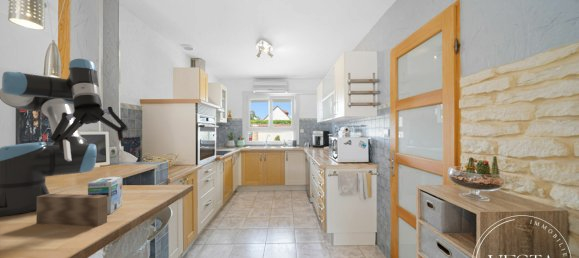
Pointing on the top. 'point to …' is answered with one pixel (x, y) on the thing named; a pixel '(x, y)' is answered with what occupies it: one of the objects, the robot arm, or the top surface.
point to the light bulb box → (108, 191)
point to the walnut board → (72, 209)
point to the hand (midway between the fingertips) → (94, 154)
